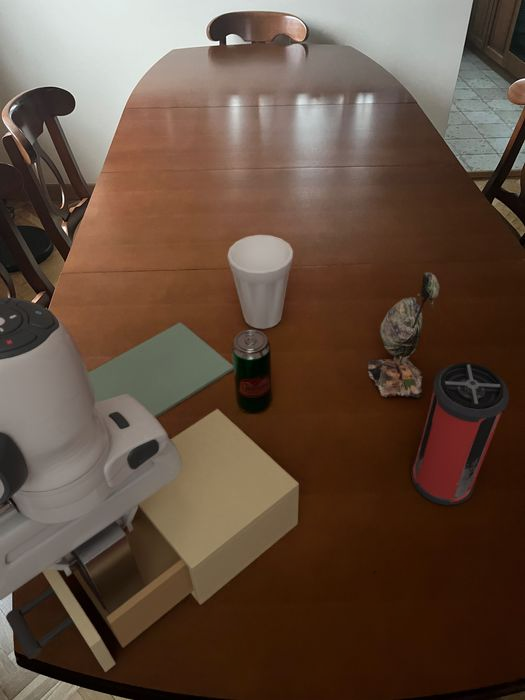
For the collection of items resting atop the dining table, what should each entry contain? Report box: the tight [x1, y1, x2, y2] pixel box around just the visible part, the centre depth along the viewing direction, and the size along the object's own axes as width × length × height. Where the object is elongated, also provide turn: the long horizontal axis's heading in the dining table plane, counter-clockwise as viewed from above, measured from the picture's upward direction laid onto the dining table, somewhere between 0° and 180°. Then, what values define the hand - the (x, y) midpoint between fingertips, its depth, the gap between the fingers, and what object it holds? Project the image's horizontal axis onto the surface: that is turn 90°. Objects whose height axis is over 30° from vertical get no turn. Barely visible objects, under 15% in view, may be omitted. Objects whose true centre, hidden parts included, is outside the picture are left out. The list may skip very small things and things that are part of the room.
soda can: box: [231, 329, 273, 414], centre depth 81 cm, size 5×5×12 cm
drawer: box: [5, 507, 194, 673], centre depth 62 cm, size 18×13×7 cm
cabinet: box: [138, 408, 300, 606], centre depth 68 cm, size 15×15×9 cm
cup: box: [227, 234, 294, 330], centre depth 93 cm, size 10×10×13 cm
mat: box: [88, 321, 234, 419], centre depth 89 cm, size 20×14×1 cm
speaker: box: [410, 362, 510, 506], centre depth 68 cm, size 8×8×18 cm
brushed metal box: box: [71, 521, 145, 615], centre depth 60 cm, size 4×6×12 cm
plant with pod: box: [367, 271, 440, 399], centre depth 81 cm, size 8×11×20 cm
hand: (98, 547), depth 58 cm, fingers closed on brushed metal box, 4 cm apart
